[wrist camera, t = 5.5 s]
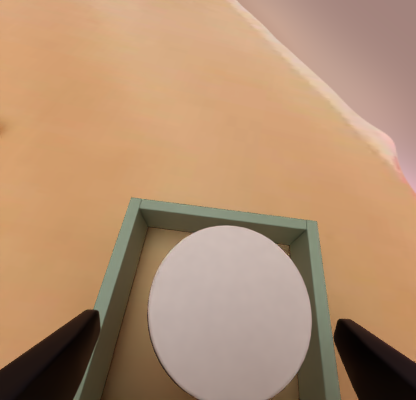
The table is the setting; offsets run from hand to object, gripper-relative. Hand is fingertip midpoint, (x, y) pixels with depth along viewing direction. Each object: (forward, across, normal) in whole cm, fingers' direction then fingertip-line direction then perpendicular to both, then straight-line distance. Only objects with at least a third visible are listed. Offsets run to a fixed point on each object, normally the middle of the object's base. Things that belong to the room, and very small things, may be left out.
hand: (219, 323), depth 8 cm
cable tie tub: (+6, 0, +6) cm, 8 cm away
